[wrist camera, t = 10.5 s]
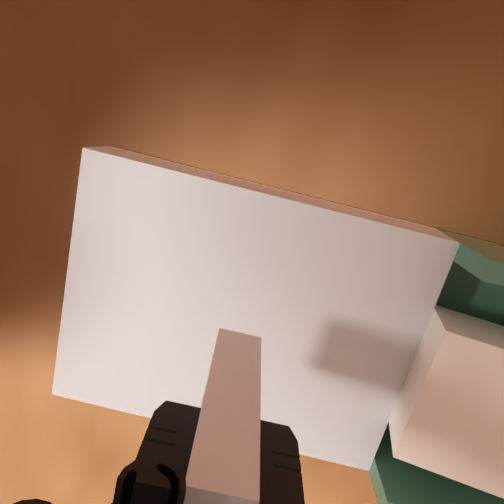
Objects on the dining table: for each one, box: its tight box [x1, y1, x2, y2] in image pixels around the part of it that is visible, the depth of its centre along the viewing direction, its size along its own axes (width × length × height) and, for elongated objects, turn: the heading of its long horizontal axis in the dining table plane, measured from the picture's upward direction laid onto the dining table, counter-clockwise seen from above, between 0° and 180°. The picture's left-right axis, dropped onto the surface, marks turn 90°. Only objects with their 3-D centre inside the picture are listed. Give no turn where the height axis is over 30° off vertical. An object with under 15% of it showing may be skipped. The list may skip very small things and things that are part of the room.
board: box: [52, 146, 460, 471], centre depth 20 cm, size 16×12×3 cm
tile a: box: [389, 305, 504, 499], centre depth 17 cm, size 6×6×3 cm
